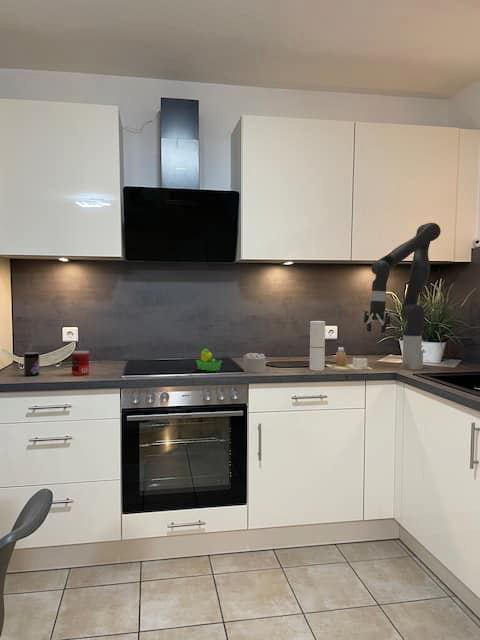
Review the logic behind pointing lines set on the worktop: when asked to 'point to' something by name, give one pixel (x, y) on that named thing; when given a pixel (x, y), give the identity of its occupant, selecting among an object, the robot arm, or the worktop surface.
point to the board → (347, 366)
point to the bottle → (340, 357)
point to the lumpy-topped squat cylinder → (254, 363)
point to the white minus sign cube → (359, 363)
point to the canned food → (80, 363)
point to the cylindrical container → (317, 345)
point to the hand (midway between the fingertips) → (375, 332)
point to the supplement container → (31, 364)
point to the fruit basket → (208, 362)
